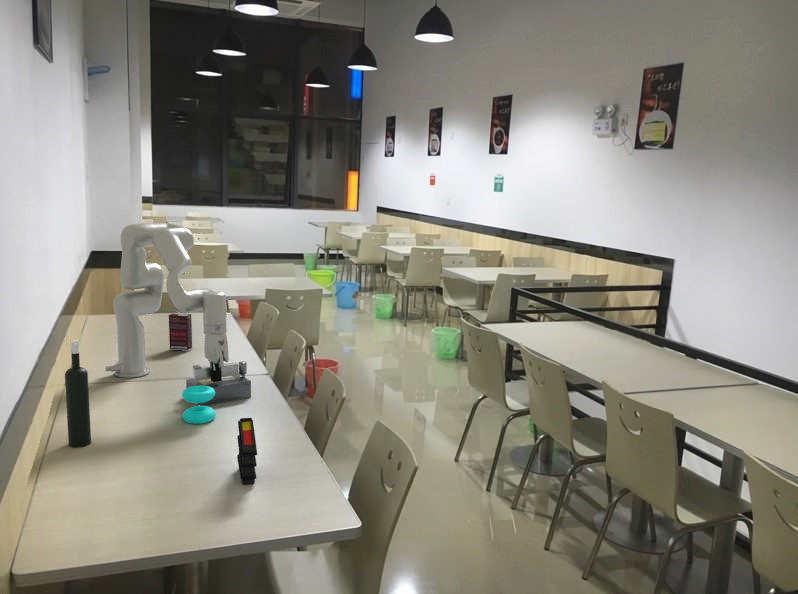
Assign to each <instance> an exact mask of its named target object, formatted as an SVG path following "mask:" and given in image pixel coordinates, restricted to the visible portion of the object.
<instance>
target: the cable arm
mask: <svg viewBox="0 0 798 594" xmlns="http://www.w3.org/2000/svg"><path fill="white" fill-rule="evenodd" d="M247 365H248V363H247V361H239V362H237V361H236V362H235V361H234V362H229V363H228V362H226V363H224V367H222V370H221V373H222V377H227V376H235V375H238V374H241V375H244V374H245V375H246V374H248V373H247V372H248V371H247V369H248V368H247V367H248V366H247ZM211 370H212V369H210V365H204V366H201V365H199V364H196V365H195V364H193V365H192V374H193V377H192V379H194V380H195V381H197V380H204V379H211Z"/></svg>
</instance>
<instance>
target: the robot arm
mask: <svg viewBox="0 0 798 594" xmlns="http://www.w3.org/2000/svg"><path fill="white" fill-rule="evenodd" d="M194 238H195V237H194V235H193V234H192V232H191V230H189V229H188V228H187V227H185V226H181V225H177V224H173V223H169V222H150V223H149V222H145V223H143V222H142V223H133V224H128V225H126V226H124V227H123V229H122V230H121V233H120V246H121V263H120V273H119V274H120V275H119V282H120V285H121V287H122V288H123V289H125V290H129V291H125V292H122V293H119V294H117V295H116V296H115V297H114V299H113V303H112V306H113V310H114V316H115V319H116V329H117V330H116V332H117V333H116V334H117V353H118V354H117V356H118V357H117V358H118V361H116V362H115V364H113V365H105V366H104V367H105V369H104V370H105V372H114V375H115V376H116V377H119V378H127V379H128V378H129V379H130V378H140V377H144V376H147V375H148V374H150V373H151V368H150V367H148V366H147V365H146V343H145V342H146V341H145V340H146V337H145V326H144V324H143V322H142V321H141V319H140V318H139V317H140V316H144V315H150V314H155V313H156V312H158V311H159V310H160V308H161V305H162V299H163V292H164V291H163V289H164V283H166V291H167V294H168V295H167V296H168V297H169V299H170V300H171V302H172V304H173V306H174V307H175V309H176V310H177V311H178V312H180V314H192V313H196V312H202V315H203V316H202V323H203V324H202V325H203V329H202V330H203V334H204V345H203V346H204V347H203V348H204V357H205V358H206V360H208V362H209V366H210V369H212V370H211V381H212V382H217V381H221V380H222V373H221V370H222V367H224V364H225V363H228V362H229V359H230V358H229V343H228V336H227V327H228V326H227V296H226V294H225V293H224V292H222V291H215V290H213V289H210V288H196V289H190V290H185V289H184V287H183V286H182V284H181V282H180V276H182V275H184V273H186V272H188V271H189V270H190V269H191V268H192V265H193V261H192V259H191V257H190V255H189V254H188V252H187V251H189V250H191V249H192V248H193V246H194V243H195V239H194ZM149 247H152V248H153V247H154V248H155V250H156V252H157V253H158V255H159V257H160V259H161V260H162V262H163V265H165V267H166V269H167V271H168V274H167V277H166V282H164V279H165V278H164V276H165V274H164V271H163V269H162V267H161V266H160V265H159V264H158V263H157V262H147V256H148V255H147V251H146V249H145V248H149ZM131 290H132V291H131ZM224 362H225V363H224Z"/></svg>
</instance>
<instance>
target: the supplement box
mask: <svg viewBox="0 0 798 594" xmlns="http://www.w3.org/2000/svg"><path fill="white" fill-rule="evenodd" d="M192 321H193V320H192V313H178V312H177V313H176V312H173V313H172V312H171V313H170V314H168V332H169V333H168V335H169V337H168V339H169V351H170V350H182V351H181V352H189V350H190V351H191V349H192V350H193V330H192V329H193V326H192V325H193V324H192V323H193V322H192Z"/></svg>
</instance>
